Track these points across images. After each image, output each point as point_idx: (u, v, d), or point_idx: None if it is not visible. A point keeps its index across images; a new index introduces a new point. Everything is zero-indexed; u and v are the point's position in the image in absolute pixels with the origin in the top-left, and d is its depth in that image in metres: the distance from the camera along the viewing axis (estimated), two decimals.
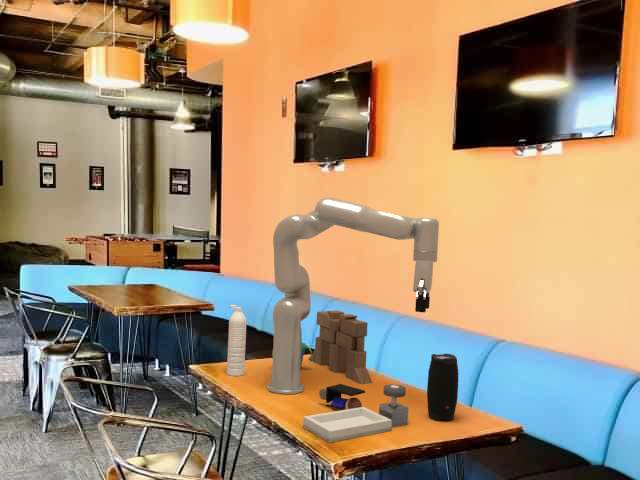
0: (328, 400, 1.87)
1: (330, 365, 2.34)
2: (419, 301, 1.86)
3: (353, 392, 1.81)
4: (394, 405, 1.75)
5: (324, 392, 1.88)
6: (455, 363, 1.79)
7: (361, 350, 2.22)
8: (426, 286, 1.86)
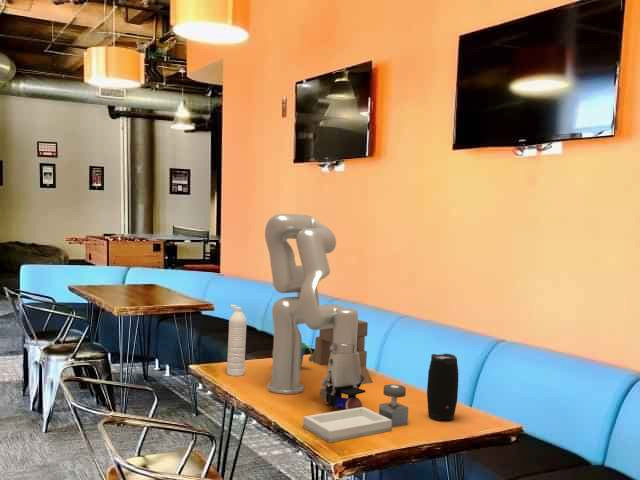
0: None
1: None
2: None
3: (353, 392, 1.81)
4: (394, 405, 1.75)
5: (324, 392, 1.88)
6: (455, 363, 1.79)
7: (361, 350, 2.23)
8: None
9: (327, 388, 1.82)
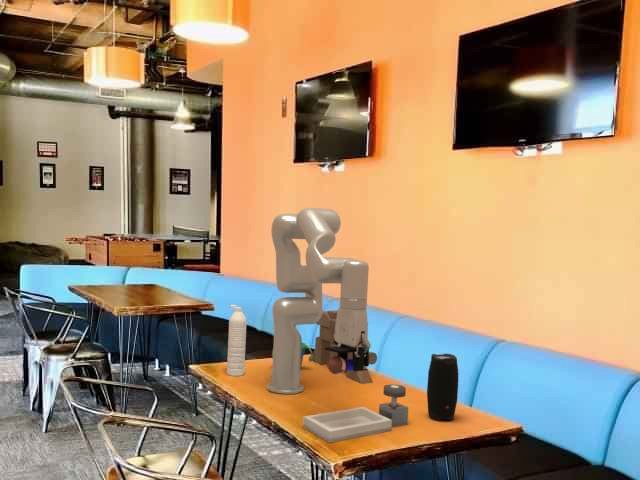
0: None
1: None
2: (359, 359, 1.64)
3: (332, 348, 1.65)
4: (394, 405, 1.75)
5: None
6: (455, 363, 1.79)
7: None
8: None
9: (336, 341, 1.73)
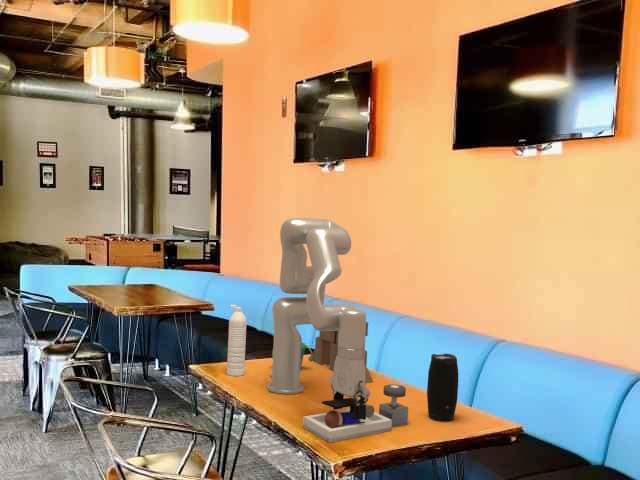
0: None
1: (330, 364, 2.35)
2: (360, 407, 1.63)
3: (329, 402, 1.65)
4: (394, 405, 1.75)
5: None
6: (455, 363, 1.79)
7: None
8: None
9: (331, 385, 1.74)
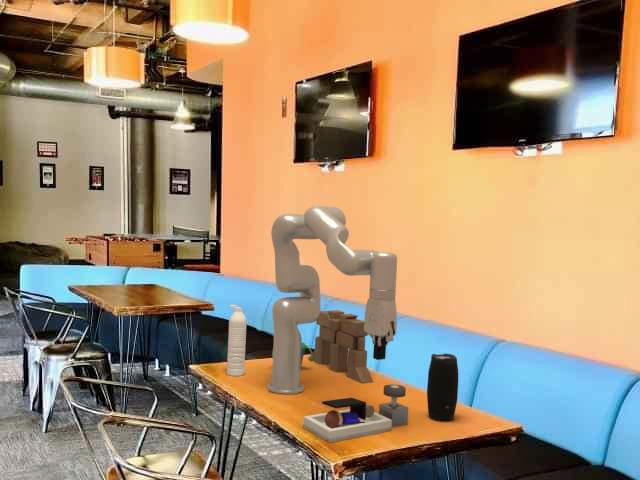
0: None
1: (330, 364, 2.35)
2: (381, 348, 1.71)
3: (329, 402, 1.65)
4: (394, 405, 1.75)
5: None
6: (455, 363, 1.79)
7: (362, 350, 2.23)
8: None
9: (371, 335, 1.74)
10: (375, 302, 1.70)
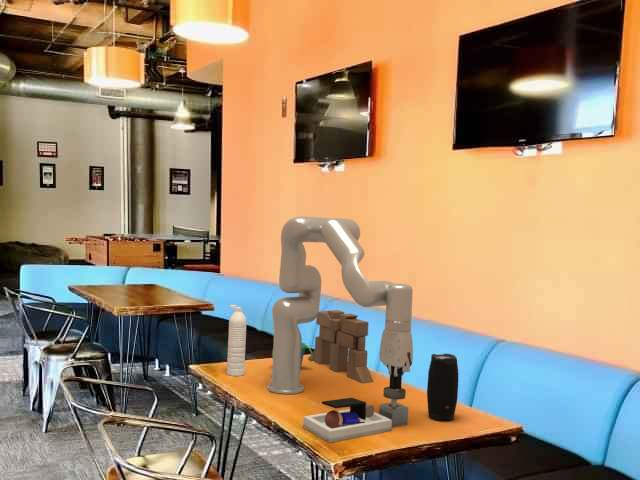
0: None
1: (331, 364, 2.35)
2: (398, 378, 1.74)
3: (329, 402, 1.65)
4: None
5: None
6: (455, 363, 1.79)
7: (362, 349, 2.23)
8: None
9: (387, 365, 1.77)
10: (391, 333, 1.73)
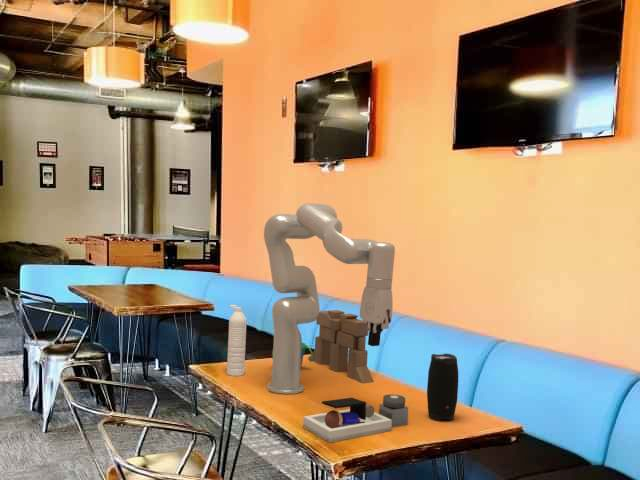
0: None
1: (331, 364, 2.35)
2: (376, 335, 1.76)
3: (329, 402, 1.65)
4: None
5: None
6: (455, 363, 1.79)
7: (362, 349, 2.24)
8: None
9: (367, 322, 1.79)
10: (372, 290, 1.75)
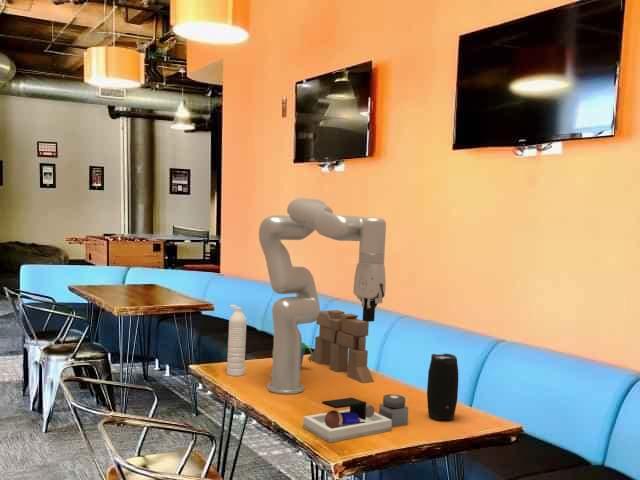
0: None
1: (331, 364, 2.35)
2: (371, 310, 1.76)
3: (329, 402, 1.65)
4: None
5: None
6: (455, 363, 1.79)
7: (362, 349, 2.24)
8: None
9: (361, 299, 1.80)
10: (365, 266, 1.75)
